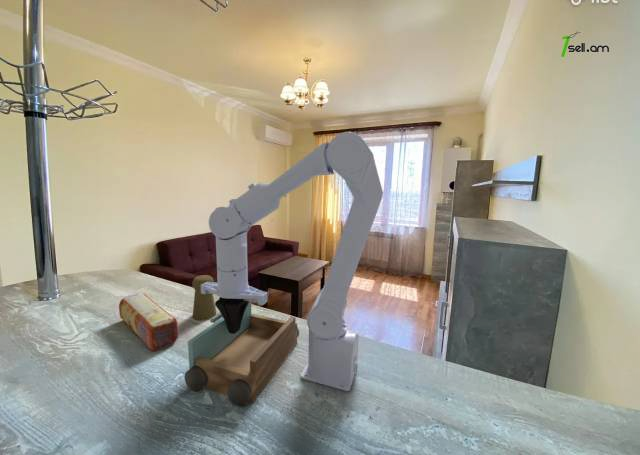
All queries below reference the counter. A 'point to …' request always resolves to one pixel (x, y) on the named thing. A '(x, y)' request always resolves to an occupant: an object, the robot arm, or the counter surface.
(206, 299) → the olive tapered cylinder
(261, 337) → the cart
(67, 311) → the counter surface
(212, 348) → the tailgate
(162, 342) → the snack package
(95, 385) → the counter surface
